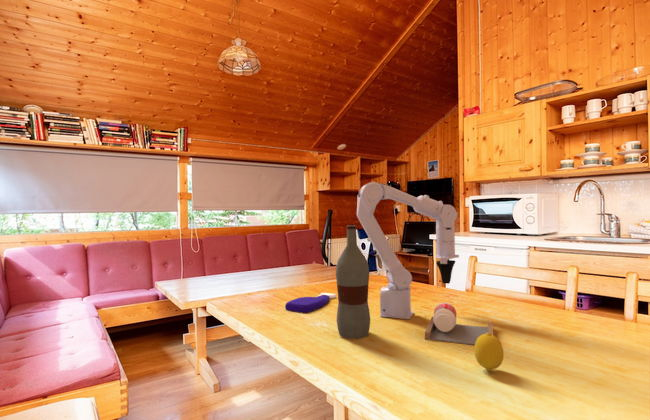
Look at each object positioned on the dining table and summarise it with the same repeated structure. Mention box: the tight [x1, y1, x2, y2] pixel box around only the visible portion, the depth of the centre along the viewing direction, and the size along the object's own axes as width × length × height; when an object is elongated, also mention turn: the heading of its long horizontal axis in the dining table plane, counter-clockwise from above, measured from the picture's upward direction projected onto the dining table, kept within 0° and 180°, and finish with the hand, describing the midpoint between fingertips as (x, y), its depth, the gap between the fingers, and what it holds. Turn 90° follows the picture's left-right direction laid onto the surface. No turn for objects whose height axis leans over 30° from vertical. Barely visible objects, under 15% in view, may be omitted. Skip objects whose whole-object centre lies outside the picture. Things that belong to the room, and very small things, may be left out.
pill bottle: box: [432, 302, 457, 332], centre depth 102 cm, size 6×6×11 cm
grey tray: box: [424, 316, 494, 346], centre depth 99 cm, size 16×15×2 cm
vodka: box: [335, 224, 371, 340], centre depth 101 cm, size 9×9×30 cm
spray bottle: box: [284, 292, 337, 314], centre depth 135 cm, size 3×11×24 cm
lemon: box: [473, 333, 504, 372], centre depth 76 cm, size 6×6×8 cm
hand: (446, 283), depth 118 cm, fingers closed
